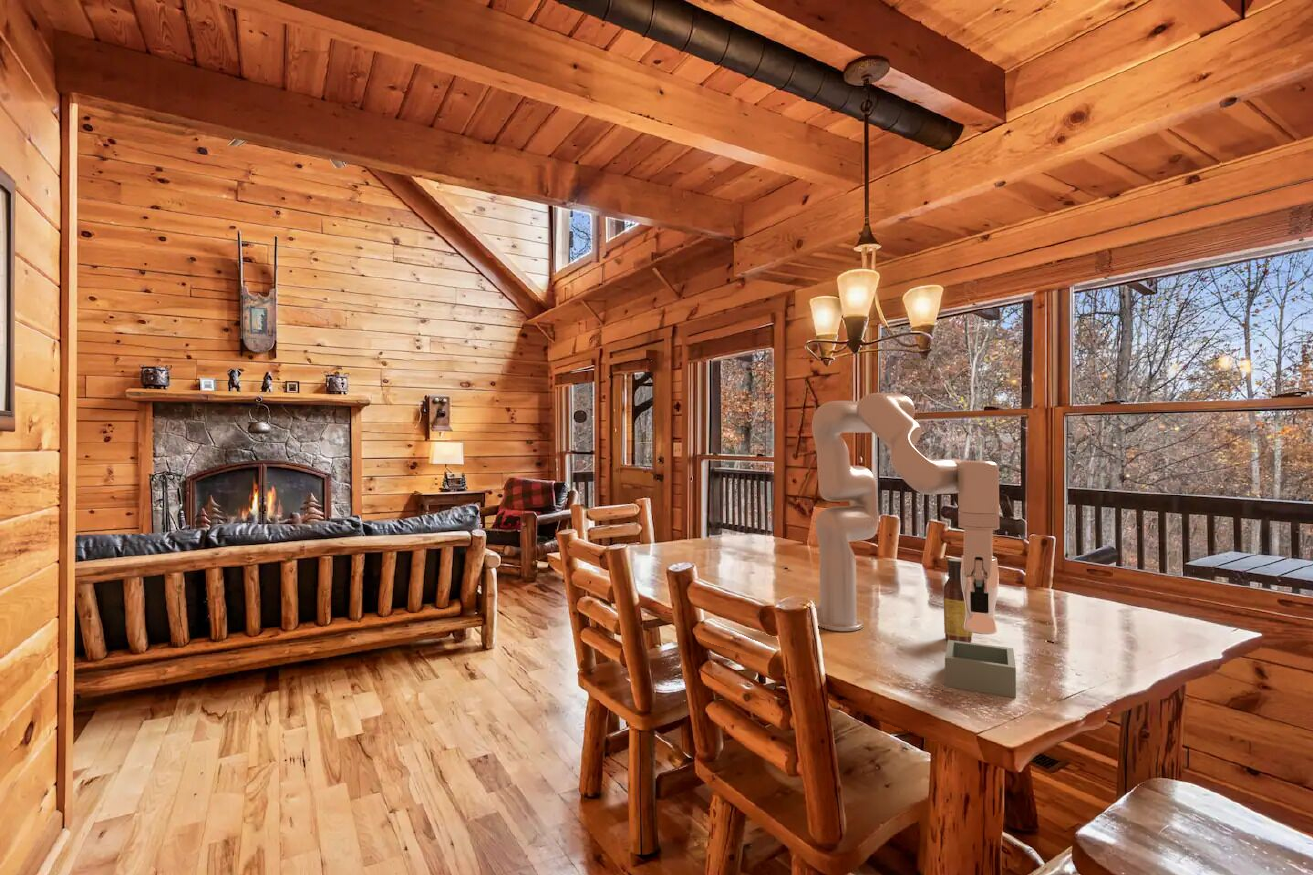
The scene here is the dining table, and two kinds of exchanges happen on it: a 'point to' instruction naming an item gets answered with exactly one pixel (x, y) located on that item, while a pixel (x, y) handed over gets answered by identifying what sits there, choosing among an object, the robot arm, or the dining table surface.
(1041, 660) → the dining table surface
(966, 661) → the box
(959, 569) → the sauce bottle
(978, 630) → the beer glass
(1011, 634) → the dining table surface
